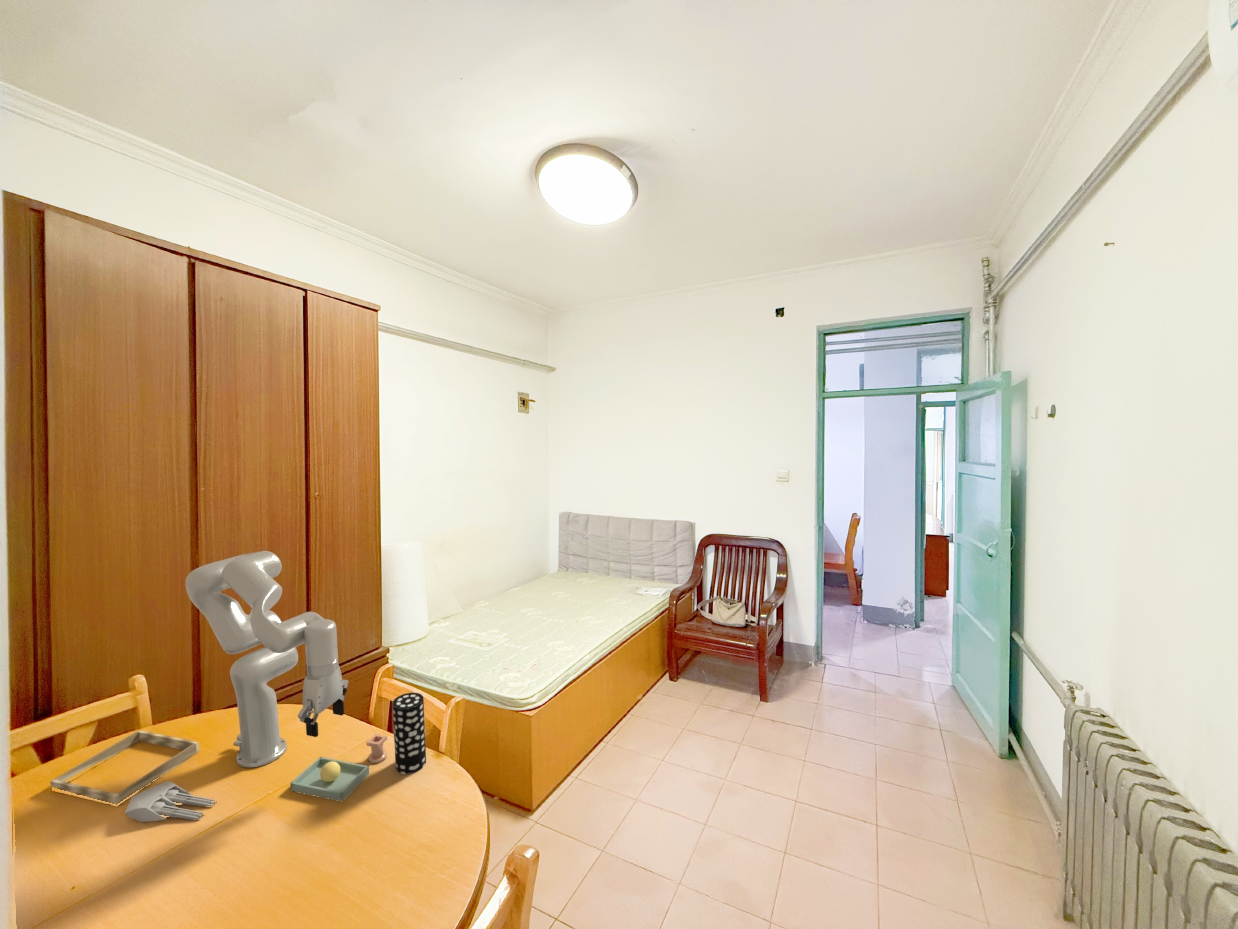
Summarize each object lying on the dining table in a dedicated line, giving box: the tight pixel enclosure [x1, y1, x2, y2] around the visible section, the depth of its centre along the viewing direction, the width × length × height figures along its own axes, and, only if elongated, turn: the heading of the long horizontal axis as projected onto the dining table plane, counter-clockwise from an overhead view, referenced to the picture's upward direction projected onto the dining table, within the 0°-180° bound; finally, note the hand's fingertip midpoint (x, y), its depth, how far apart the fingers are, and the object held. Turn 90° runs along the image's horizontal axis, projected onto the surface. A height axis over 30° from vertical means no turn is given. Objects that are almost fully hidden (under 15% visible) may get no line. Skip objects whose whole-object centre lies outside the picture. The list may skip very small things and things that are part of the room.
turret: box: [124, 780, 218, 823], centre depth 145 cm, size 10×20×5 cm, turn 88°
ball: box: [320, 761, 340, 782], centre depth 155 cm, size 5×5×5 cm
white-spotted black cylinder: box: [392, 692, 427, 775], centre depth 162 cm, size 8×8×20 cm
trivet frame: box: [49, 730, 200, 805], centre depth 159 cm, size 23×23×3 cm
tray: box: [290, 756, 370, 802], centre depth 156 cm, size 16×11×2 cm
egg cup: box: [365, 733, 388, 764], centre depth 165 cm, size 5×5×6 cm
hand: (325, 724), depth 153 cm, fingers open, 9 cm apart
